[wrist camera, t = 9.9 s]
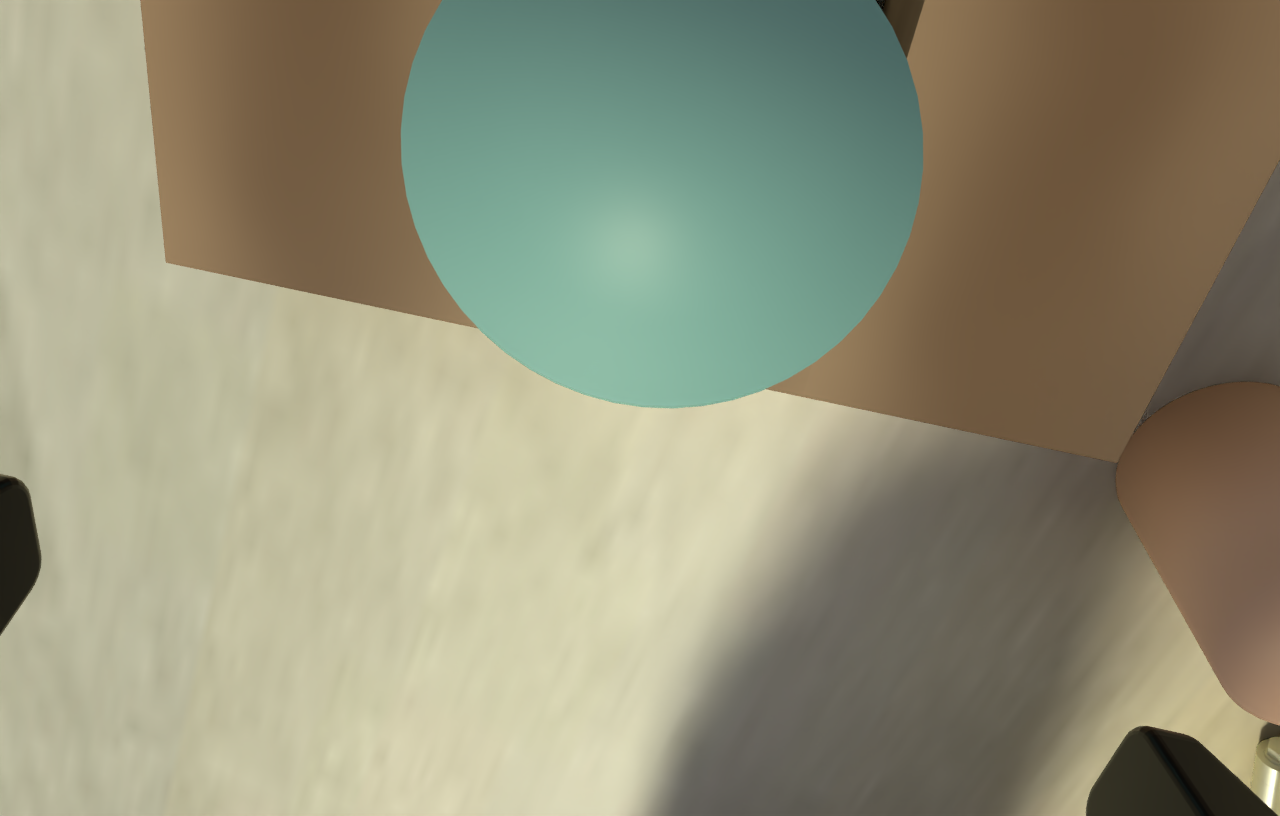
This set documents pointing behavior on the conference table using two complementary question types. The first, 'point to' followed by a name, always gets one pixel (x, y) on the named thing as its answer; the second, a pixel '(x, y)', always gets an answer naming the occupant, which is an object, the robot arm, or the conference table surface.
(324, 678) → the conference table surface
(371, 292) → the bore board
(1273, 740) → the pneumatic valve
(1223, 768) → the robot arm
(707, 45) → the tall pin
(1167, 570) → the short pin
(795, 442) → the conference table surface
